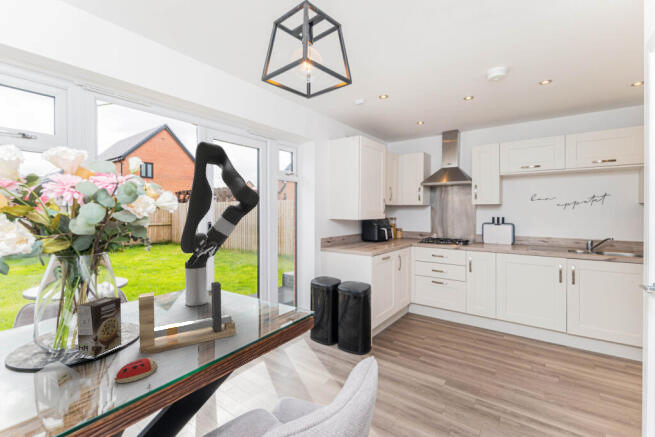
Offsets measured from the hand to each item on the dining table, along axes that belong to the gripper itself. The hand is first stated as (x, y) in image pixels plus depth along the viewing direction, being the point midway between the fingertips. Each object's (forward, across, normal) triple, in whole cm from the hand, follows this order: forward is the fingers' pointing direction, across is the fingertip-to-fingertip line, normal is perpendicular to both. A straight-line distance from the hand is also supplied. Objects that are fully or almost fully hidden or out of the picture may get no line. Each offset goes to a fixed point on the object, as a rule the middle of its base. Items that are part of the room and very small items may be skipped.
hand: (195, 263), depth 114 cm
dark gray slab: (+11, +5, +24) cm, 27 cm away
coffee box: (+32, +21, +2) cm, 38 cm away
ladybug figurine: (+22, +31, +20) cm, 43 cm away
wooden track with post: (+17, +10, +20) cm, 28 cm away
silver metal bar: (+14, +10, +18) cm, 25 cm away
